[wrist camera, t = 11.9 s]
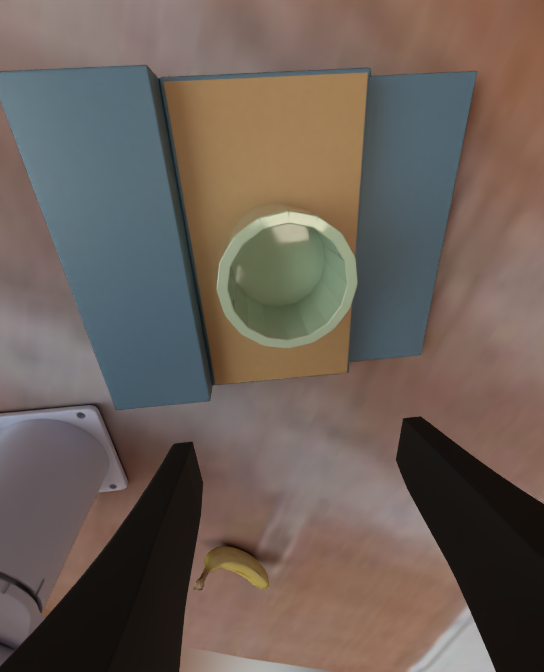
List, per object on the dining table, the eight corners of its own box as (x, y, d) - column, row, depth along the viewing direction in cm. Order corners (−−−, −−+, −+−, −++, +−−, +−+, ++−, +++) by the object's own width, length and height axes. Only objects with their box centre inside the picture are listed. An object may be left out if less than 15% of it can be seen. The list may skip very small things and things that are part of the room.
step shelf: (136, 372, 19) (115, 410, 16) (51, 97, 13) (-13, 71, 10) (413, 347, 20) (445, 379, 17) (462, 77, 14) (528, 47, 11)
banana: (195, 541, 28) (187, 594, 25) (206, 532, 28) (201, 584, 24) (262, 568, 31) (264, 618, 28) (273, 560, 31) (277, 610, 27)
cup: (239, 319, 16) (238, 360, 12) (210, 217, 13) (197, 232, 10) (335, 296, 16) (362, 332, 12) (322, 190, 13) (350, 195, 10)
